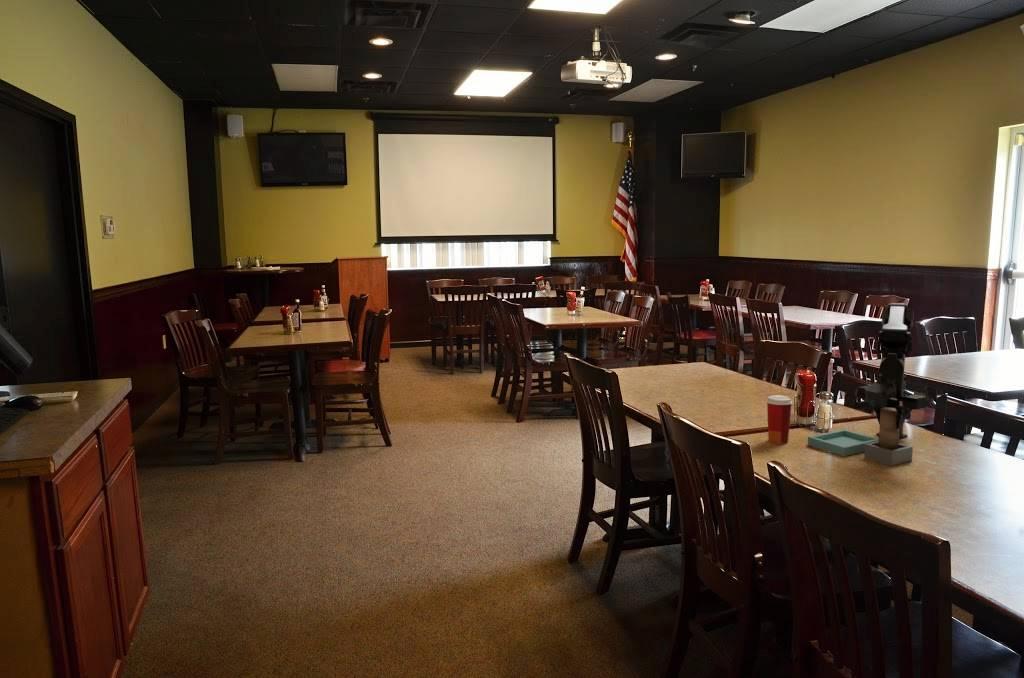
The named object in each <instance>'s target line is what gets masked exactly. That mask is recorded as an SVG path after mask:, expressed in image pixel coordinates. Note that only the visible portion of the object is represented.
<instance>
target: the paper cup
mask: <svg viewBox="0 0 1024 678" xmlns="http://www.w3.org/2000/svg"><path fill="white" fill-rule="evenodd" d="M765 402H766V409H767V413H766V414H767V433H768V434H767V436H768V437H767V438H768V443H770V442H771V444H774V445H787V444H788V443H789V434H790V426H791V425H790V424H791V415H792V414H791V413H792V412H791V411H792V404H793V403H794V402H793V401H792V398H791V397H789V396H786V395H777V394H776V395H769V396H768V397H767V398H766V400H765Z"/></svg>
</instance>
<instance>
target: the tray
mask: <svg viewBox="0 0 1024 678" xmlns="http://www.w3.org/2000/svg"><path fill="white" fill-rule="evenodd" d="M876 441H879V437H875V436H871V435H867V434H863V433H861V432H860V433H859V432H855V431H852V430H847V429H839V430H834V431H830V432H825V433H820V434H815V435H810V436H807V446H810V447H814V448H816V449H820V450H823V451H827V452H830V453H833V454H836V455H839V456H843V457H847V456H850V455H856V454H859V452H860V453H865V444H867V443H871V442H876ZM855 453H856V454H855Z"/></svg>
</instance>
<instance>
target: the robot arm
mask: <svg viewBox="0 0 1024 678" xmlns="http://www.w3.org/2000/svg"><path fill="white" fill-rule="evenodd" d="M914 312H915V311H914V310H913V309H912V308H910V307H908V304H906V303H903V302H902V303H897V302H896V303H895V302H894V303H893V302H891V303H888V306H886V307H885V308H883V309H882V313H881V314H882V315H881V325H882V327H881V330H880V331H879V332H878V340H877V342H878V343H877V353H876V354H882V355H881V361H880V364H879V368H878V369H879V372H880V375H877V377H876V382H874V383H872V384H871V385H864V386H858V387H857V389H856V390H855V397H856V398H861V399H865V402H867V403H869V404H870V405H871V407H872V409H873V411H874V413H875V416H876V419H877V422H878V424H879V426H880V409H881V408H895V409H896V410H897V420H896V428H897V429H900V430H899V439H903V438H908V434H905V433H904V423H905V421H907V420H910V419H911V413H912V411H913V410H921V409H926V408H929V407H930V399H929V398H928V396H924V395H920V394H910V395H907V390H904V384H905V383H904V381H907V379H908V376H907V375H905V362H906V361H905V360H906V356H909V355H910V352H912V349H913V336H912V333H911V327H914ZM875 435H876V436H879V432H876V434H875Z"/></svg>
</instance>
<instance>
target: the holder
mask: <svg viewBox="0 0 1024 678" xmlns="http://www.w3.org/2000/svg"><path fill="white" fill-rule="evenodd" d="M913 447H914V446H910V445H907V444H903V443H900V442H899V449H895V450H889V449H885V448H882V447H879V441H876V442H871V443H867V444H865V451H864V452H863V453H864V455H863V457H865V459H868V460H872V461H874V460H875V461H876V462H878V463H882V464H885V465H887V464H888V466H892V467H893V466H896V464H897V465H900V463H901V464H904V463H903V462H905V463H909V462H911V461H913V450H914V448H913ZM908 461H909V462H908Z"/></svg>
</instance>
